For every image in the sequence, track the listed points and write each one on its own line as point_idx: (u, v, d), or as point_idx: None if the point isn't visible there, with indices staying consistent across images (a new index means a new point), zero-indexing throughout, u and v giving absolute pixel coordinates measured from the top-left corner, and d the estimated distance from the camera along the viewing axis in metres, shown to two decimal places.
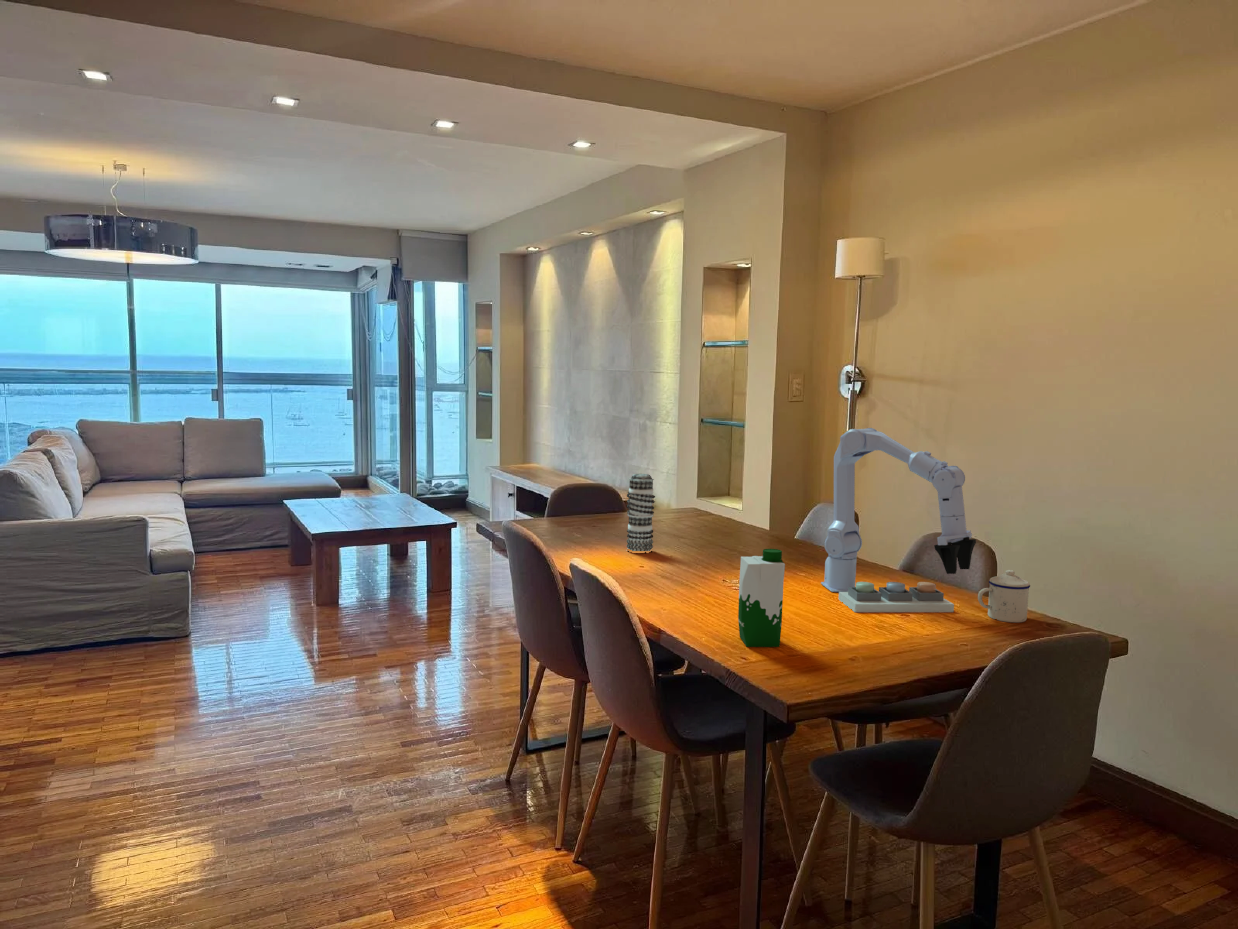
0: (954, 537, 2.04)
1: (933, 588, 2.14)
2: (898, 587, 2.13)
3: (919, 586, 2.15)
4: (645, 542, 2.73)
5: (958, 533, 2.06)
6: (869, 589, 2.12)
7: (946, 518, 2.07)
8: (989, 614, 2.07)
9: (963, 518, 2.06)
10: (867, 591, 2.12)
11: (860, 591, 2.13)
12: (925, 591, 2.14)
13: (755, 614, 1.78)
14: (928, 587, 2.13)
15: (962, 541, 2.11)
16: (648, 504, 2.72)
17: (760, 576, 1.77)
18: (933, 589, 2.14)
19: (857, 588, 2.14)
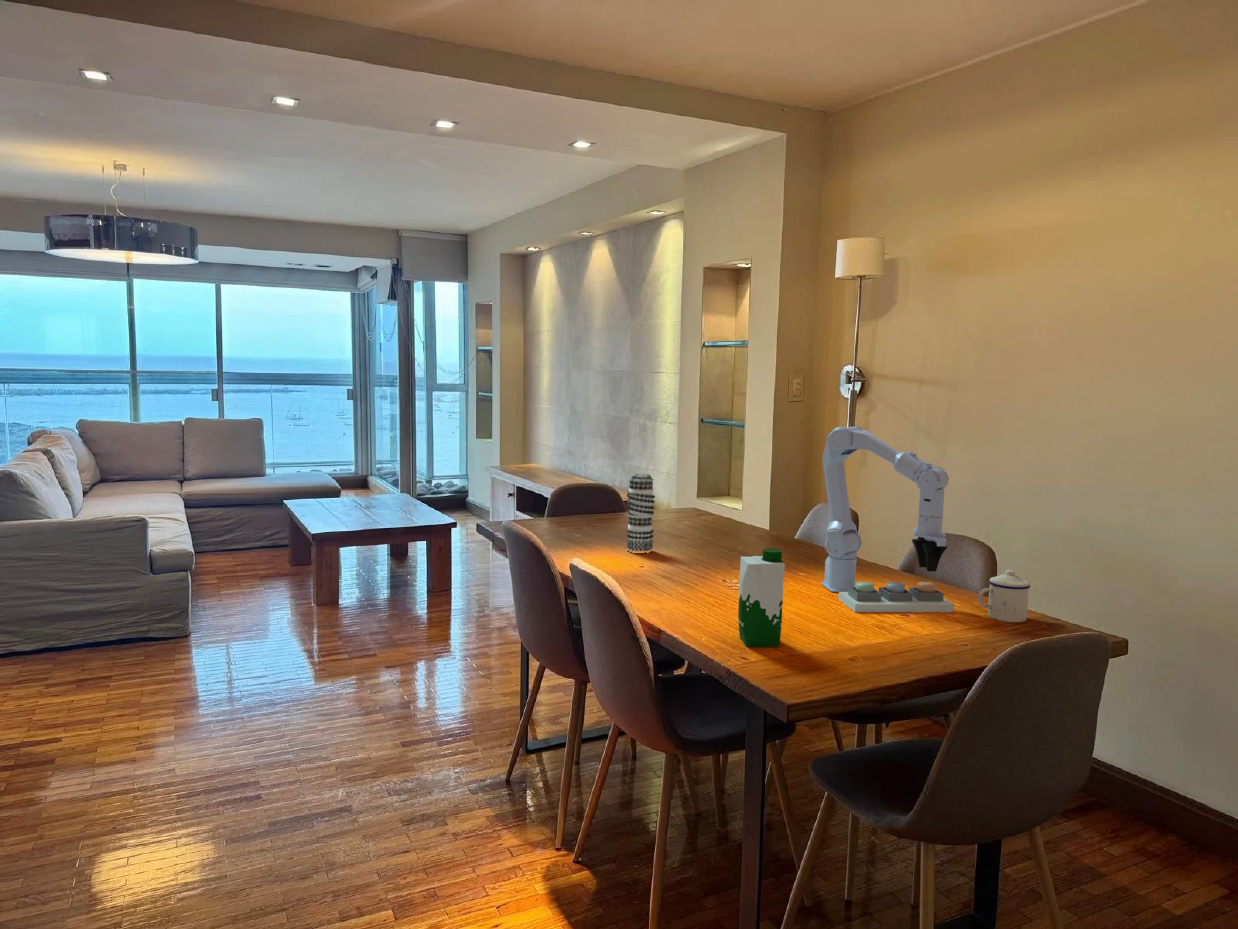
0: (943, 538, 2.10)
1: (933, 588, 2.14)
2: (898, 587, 2.13)
3: (919, 586, 2.15)
4: (645, 542, 2.73)
5: (940, 533, 2.12)
6: (869, 589, 2.12)
7: (934, 519, 2.11)
8: (989, 614, 2.07)
9: None
10: (867, 591, 2.12)
11: (860, 591, 2.13)
12: (925, 591, 2.14)
13: (755, 614, 1.78)
14: (928, 587, 2.13)
15: (925, 540, 2.17)
16: (648, 504, 2.72)
17: (760, 576, 1.77)
18: (933, 589, 2.14)
19: (857, 588, 2.14)
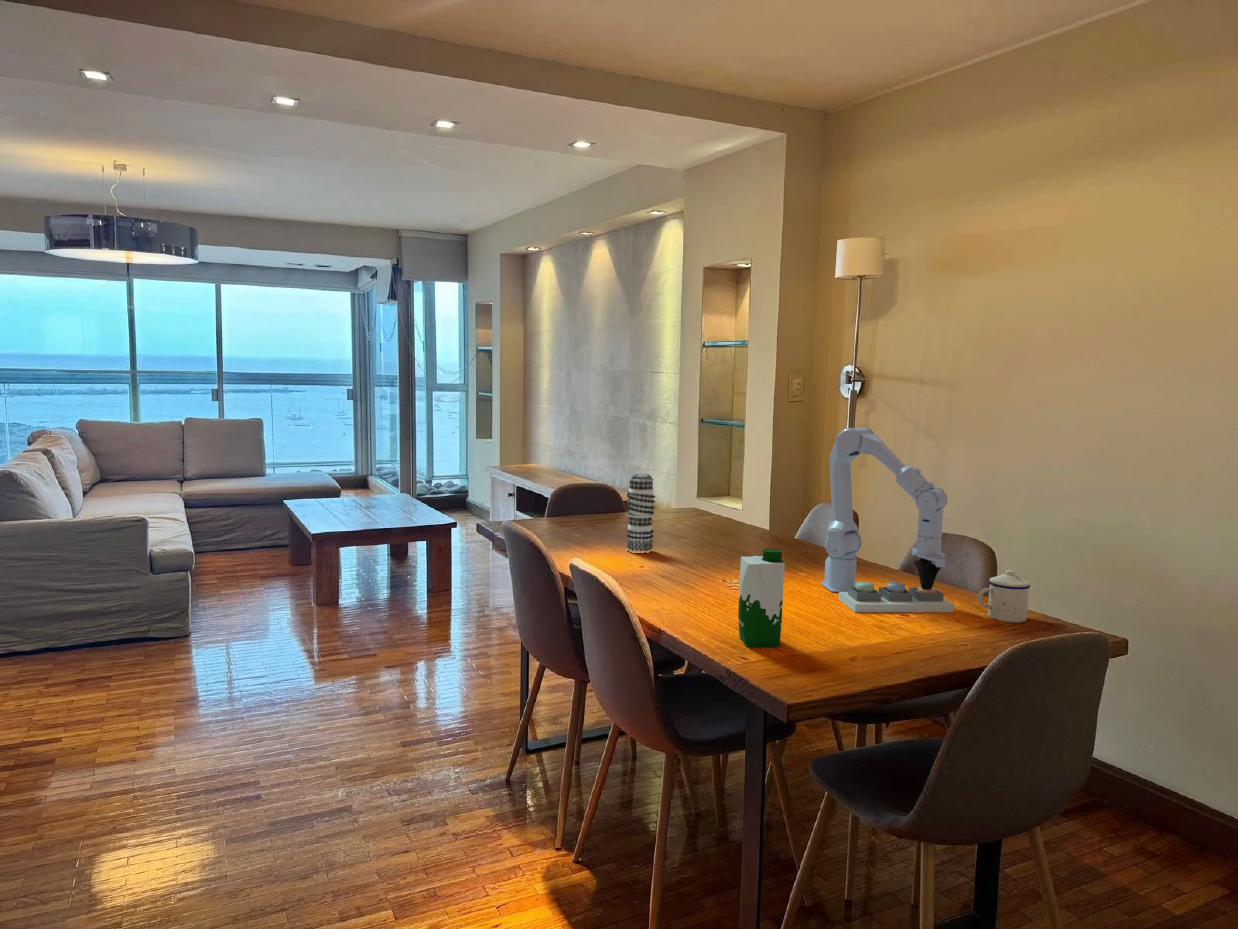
0: (942, 559, 2.11)
1: None
2: (898, 587, 2.13)
3: (919, 591, 2.15)
4: (645, 542, 2.73)
5: (939, 554, 2.13)
6: (869, 589, 2.12)
7: (933, 539, 2.12)
8: (989, 614, 2.07)
9: None
10: (867, 591, 2.12)
11: (860, 591, 2.13)
12: None
13: (755, 614, 1.78)
14: (928, 592, 2.14)
15: None
16: (648, 504, 2.72)
17: (760, 576, 1.77)
18: None
19: (857, 588, 2.14)
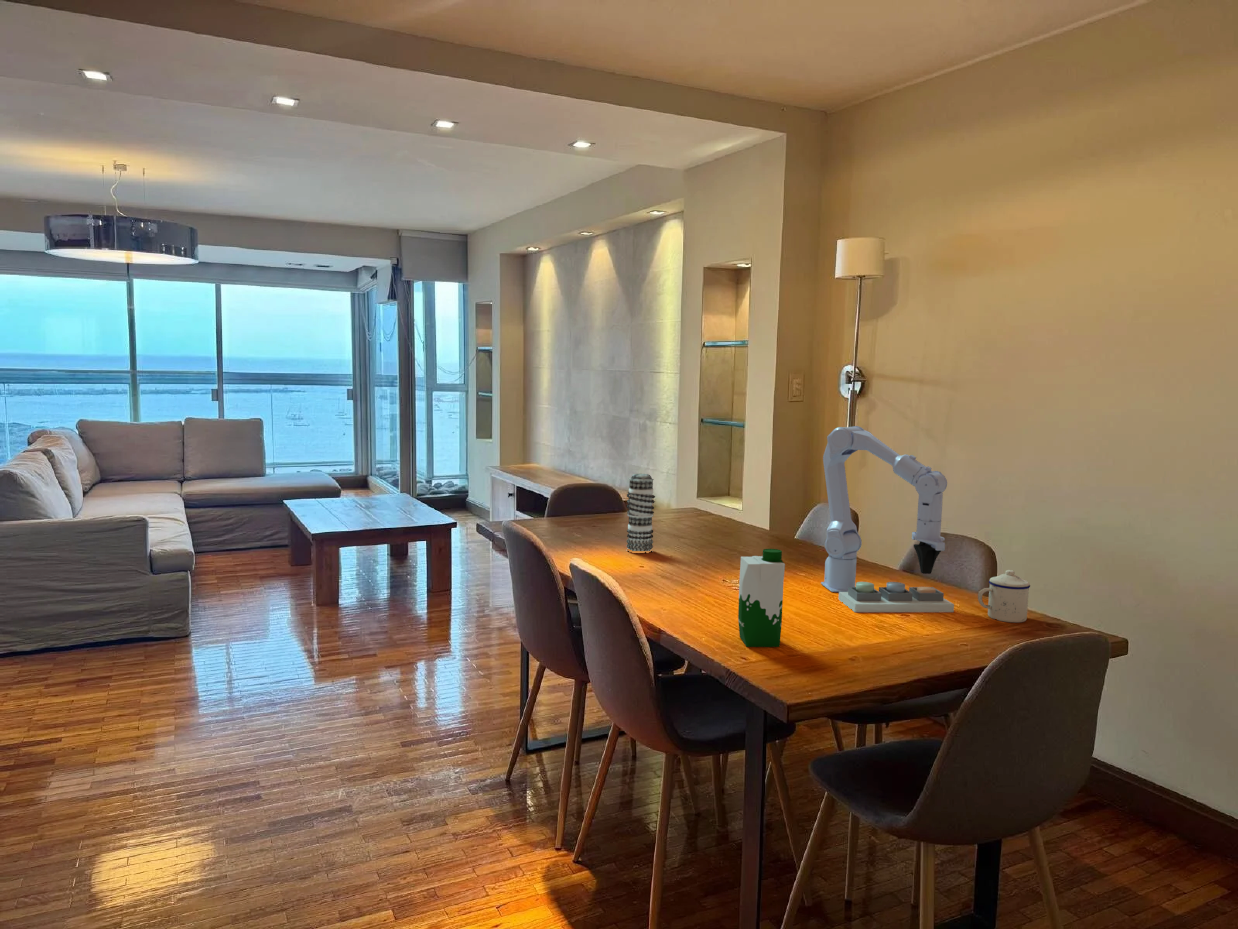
0: (942, 542, 2.10)
1: None
2: (898, 587, 2.13)
3: (919, 591, 2.15)
4: (645, 542, 2.73)
5: (939, 537, 2.12)
6: (869, 589, 2.12)
7: (933, 523, 2.11)
8: (989, 614, 2.07)
9: None
10: (867, 591, 2.12)
11: (860, 591, 2.13)
12: None
13: (755, 614, 1.78)
14: (928, 592, 2.14)
15: None
16: (648, 504, 2.72)
17: (760, 576, 1.77)
18: None
19: (857, 588, 2.14)
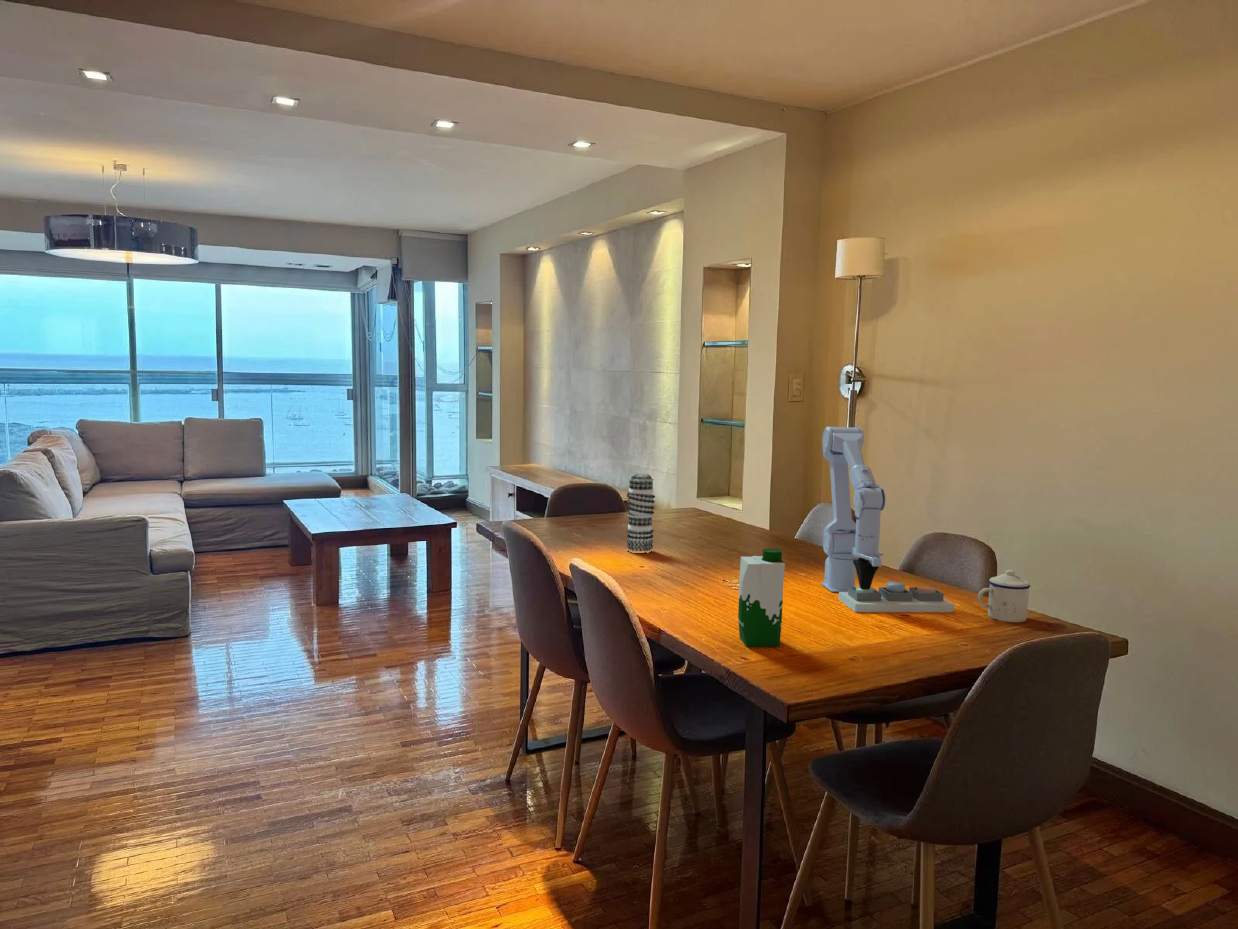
0: (879, 558, 2.10)
1: None
2: (898, 587, 2.13)
3: (919, 591, 2.15)
4: (645, 542, 2.73)
5: (877, 553, 2.12)
6: None
7: (870, 538, 2.10)
8: (989, 614, 2.07)
9: None
10: None
11: None
12: None
13: (755, 614, 1.78)
14: (928, 592, 2.14)
15: None
16: (648, 504, 2.72)
17: (760, 576, 1.77)
18: None
19: None
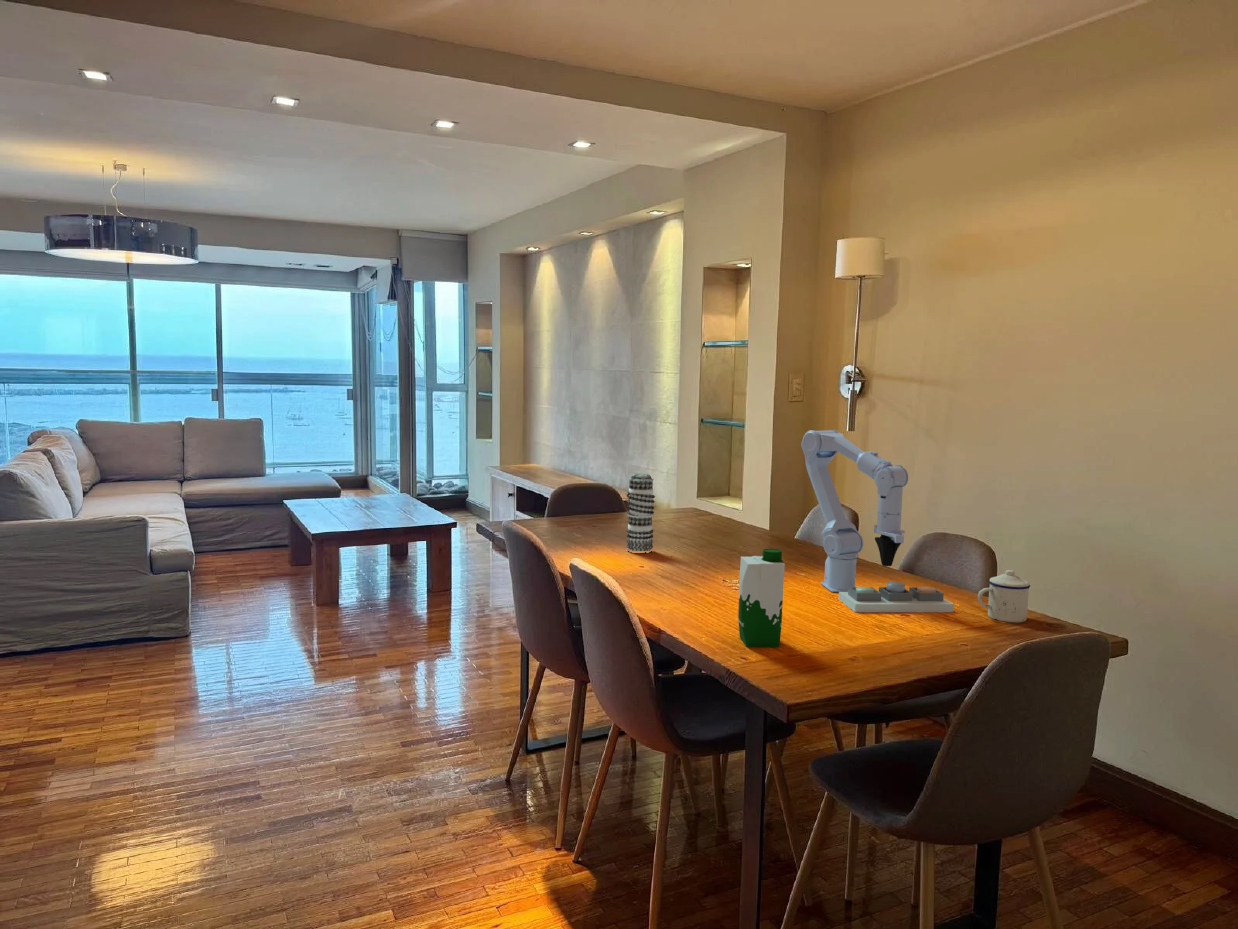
0: (901, 535, 2.14)
1: None
2: (898, 587, 2.13)
3: (919, 591, 2.15)
4: (645, 542, 2.73)
5: (899, 530, 2.16)
6: None
7: (892, 516, 2.14)
8: (989, 614, 2.07)
9: None
10: None
11: None
12: None
13: (755, 614, 1.78)
14: (928, 592, 2.14)
15: None
16: (648, 504, 2.72)
17: (760, 576, 1.77)
18: None
19: None
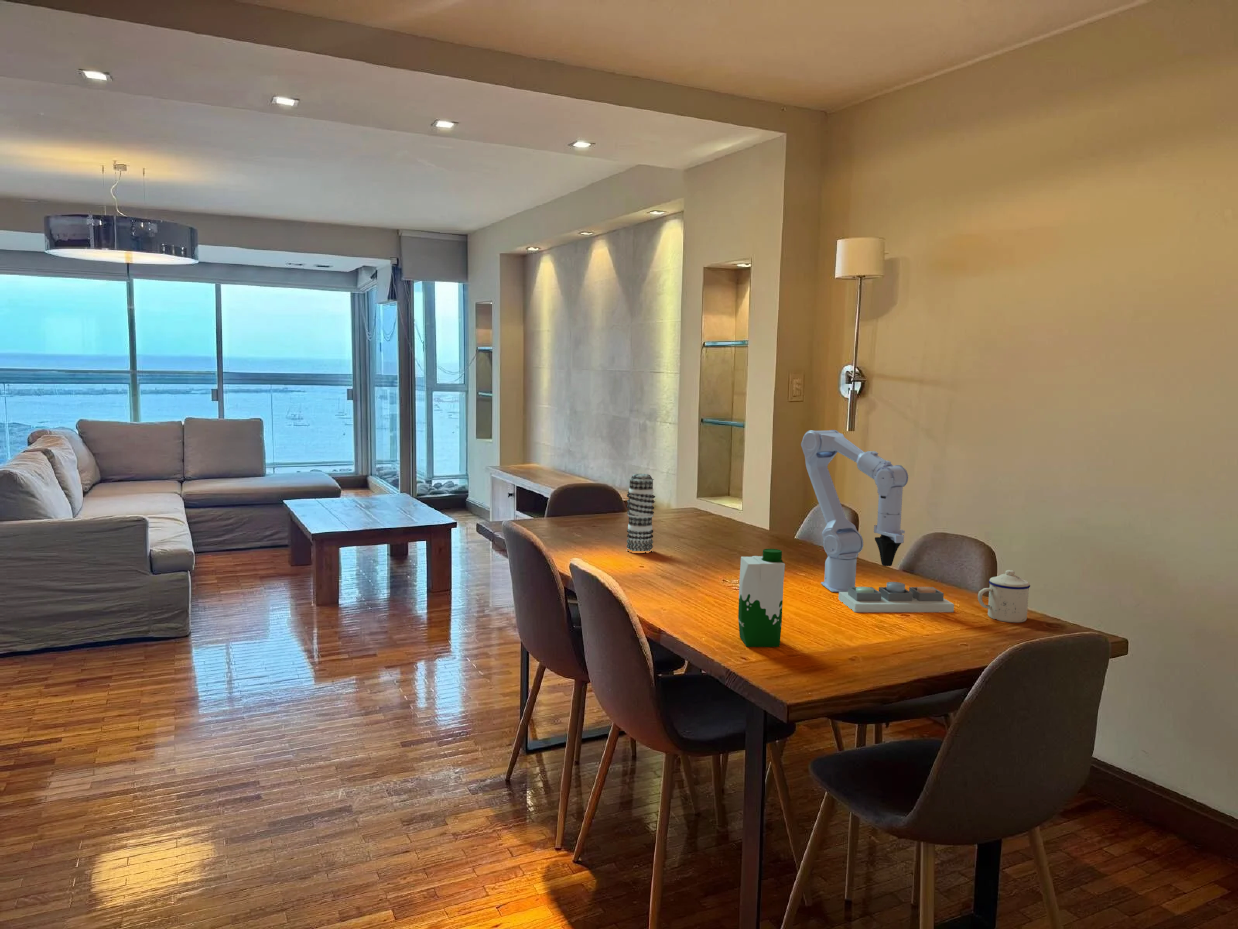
0: (901, 535, 2.14)
1: None
2: (898, 587, 2.13)
3: (919, 591, 2.15)
4: (645, 542, 2.73)
5: (899, 530, 2.16)
6: None
7: (892, 516, 2.14)
8: (989, 614, 2.07)
9: None
10: None
11: None
12: None
13: (755, 614, 1.78)
14: (928, 592, 2.14)
15: None
16: (648, 504, 2.72)
17: (760, 576, 1.77)
18: None
19: None
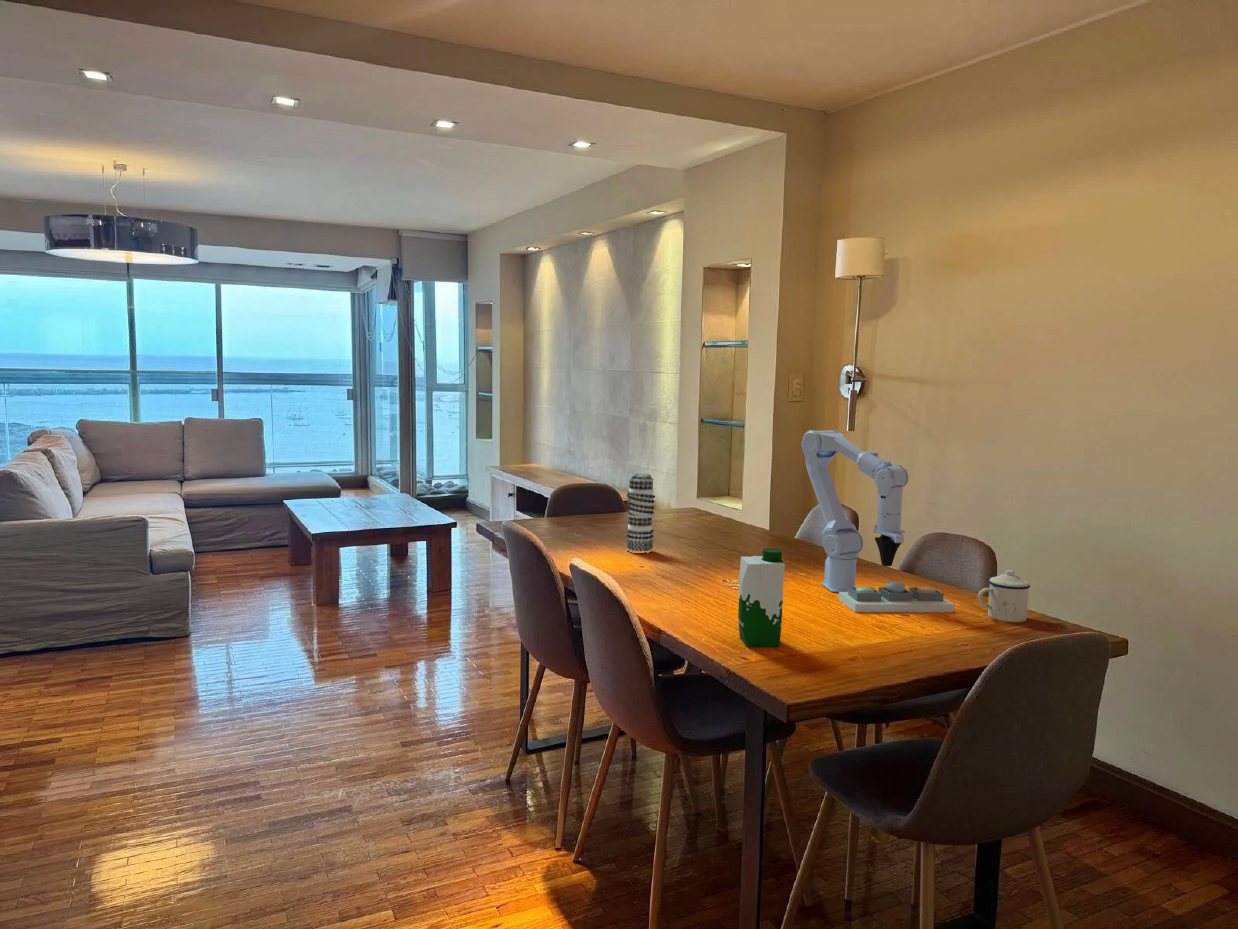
0: (901, 535, 2.14)
1: None
2: (898, 587, 2.13)
3: (919, 591, 2.15)
4: (645, 542, 2.73)
5: (899, 530, 2.16)
6: None
7: (892, 516, 2.14)
8: (989, 614, 2.07)
9: None
10: None
11: None
12: None
13: (755, 614, 1.78)
14: (928, 592, 2.14)
15: None
16: (648, 504, 2.72)
17: (760, 576, 1.77)
18: None
19: None
